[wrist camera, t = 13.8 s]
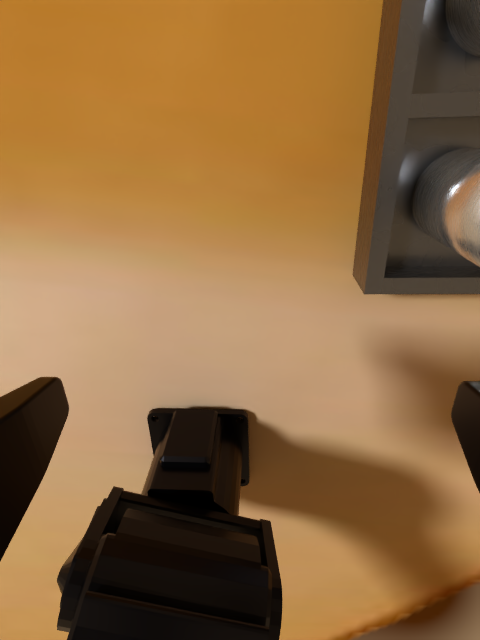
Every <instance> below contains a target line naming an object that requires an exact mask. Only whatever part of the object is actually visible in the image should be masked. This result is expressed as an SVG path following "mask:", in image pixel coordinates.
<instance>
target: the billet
mask: <svg viewBox="0 0 480 640" xmlns="http://www.w3.org/2000/svg"><path fill="white" fill-rule="evenodd" d="M412 213H413V216H414V219H415V221H416V223H417V225H418V226H419V228H420V229H421V230H422V231H423V232H424V233H426V234H427V235H429V236H430V237H432V238H434V239H435V240H437V241H438V242H440V243H442V244H443V245H445V246H447V247H448V248H450V249H451V250H453V251H455V252H456V253H458V254H459V255H461V256H463V257H464V258H466V259H467V260H469V261H471V262H472V263H474V264H476V265H477V266H479V267H480V148H461V149H457V150H453V151H451V152H448V153H446V154H444V155H442V156H441V157H439V158H438V159H436V160H435V161H434V162H432V163H431V164H430V165H429V166H428V167H427V168H426V169H425V171H424V172H423V173H422V175H421V176H420V178H419V179H418V182H417V184H416V186H415V189H414V191H413V196H412Z"/></svg>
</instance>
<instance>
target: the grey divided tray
mask: <svg viewBox="0 0 480 640" xmlns="http://www.w3.org/2000/svg"><path fill="white" fill-rule="evenodd" d="M461 148H480V56H475V55H473V54H470V53H468V52H466V51H465V50H463V49H462V48H461V47H460V46H459V45H458V44H457V43H456V41H455V40H454V38H453V37H452V35H451V33H450V30H449V28H448V23H447V18H446V0H383V9H382V18H381V27H380V36H379V45H378V54H377V62H376V71H375V80H374V89H373V98H372V107H371V116H370V125H369V134H368V143H367V152H366V161H365V170H364V178H363V187H362V196H361V205H360V214H359V223H358V232H357V241H356V250H355V259H354V268H353V276H354V278H355V280H356V281H357V283H358V285H359V286H360V288H361V290H362V291H363V293H364V294H480V267H479V266H477V265H476V264H474V263H472V262H471V261H469V260H467V259H466V258H464V257H463V256H461V255H459V254H458V253H456V252H455V251H453V250H451V249H450V248H448V247H447V246H445V245H443V244H442V243H440V242H438V241H437V240H435V239H434V238H432V237H430V236H429V235H427V234H426V233H424V232H423V231H422V230H421V229H420V228H419V226H418V225H417V223H416V221H415V219H414V216H413V213H412V196H413V191H414V189H415V186H416V184H417V182H418V179H419V178H420V176H421V175H422V173H423V172H424V171H425V169H426V168H427V167H428V166H429V165H430V164H431V163H432V162H434V161H435V160H436V159H438V158H439V157H441V156H442V155H444V154H446V153H448V152H451V151H453V150H457V149H461Z"/></svg>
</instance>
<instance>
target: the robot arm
mask: <svg viewBox="0 0 480 640" xmlns="http://www.w3.org/2000/svg"><path fill="white" fill-rule="evenodd" d="M68 412H69V405H68V401H67V398H66V394H65V391H64V387H63V384H62V381H61V380H60V379H59V378H58V377H40V378H37V379H35V380H34V381H32V382H30V383H28V384H26V385H24V386H22V387H20V388H18V389H16V390H14V391H12V392H10V393H8V394H6V395H4V396H2V397H0V561H1V559H2V557H3V555H4V553H5V551H6V549H7V547H8V545H9V543H10V541H11V539H12V538H13V536H14V534H15V532H16V530H17V528H18V526H19V524H20V522H21V520H22V518H23V516H24V514H25V512H26V510H27V508H28V506H29V504H30V502H31V501H32V499H33V497H34V495H35V493H36V491H37V489H38V487H39V485H40V483H41V481H42V479H43V477H44V475H45V472H46V470H47V468H48V465H49V463H50V460H51V458H52V455H53V453H54V450H55V447H56V445H57V442H58V440H59V437H60V435H61V432H62V429H63V427H64V424H65V422H66V419H67V416H68ZM154 416H157V417H158V418H155V417H154ZM238 417H241V418H243V419H238ZM451 418H452V422H453V425H454V428H455V430H456V433H457V436H458V439H459V441H460V444H461V447H462V449H463V452H464V455H465V458H466V460H467V463H468V466H469V468H470V471H471V474H472V476H473V479H474V481H475V484H476V486H477V488H478V490H479V493H480V381H463V382H462V383H460V385H459V387H458V390H457V393H456V397H455V400H454V404H453V407H452V412H451ZM147 419H148V425H149V431H150V436H151V442H152V448H153V454H154V458H153V461H152V464H151V467H150V470H149V473H148V476H147V479H146V482H145V485H144V488H143V491H142V494H137V493H133V492H128V491H124V489H123V488H119V487H113V489H112V490H111V492H110V494H109V496H108V498H107V499H106V498H105V499H104V500H103V502H102V504H101V506H98V507H97V509H96V511H95V514H94V516H93V518H92V521H91V523H90V525H89V527H88V529H87V531H86V533H85V535H84V537H83V538H82V540H81V541H80V543H79V544H78V545H77V547H76V548H75V549H74V551H73V552H72V554H71V555H70V556H69V558H68V559H67V560H66V562H65V563H64V564H63V566H62V568H61V570H60V572H59V575H58V578H57V583H58V585H59V588H60V591H61V593H62V597H61V602H60V613H59V617H58V623H57V630H60V631H65V632H69V635H68V638H67V640H279V636H280V629H281V619H282V586H281V578H280V573H279V567H278V561H277V556H276V550H275V544H274V539H273V533H272V527H271V522H270V521H268V520H263V519H260V521H259V520H255V519H250V518H246V517H241V516H238V515H239V499H240V486H246V485H247V484H248V483H249V438H248V414H247V413H246V412H245V411H242V410H202V409H152V410H151V411H150V412H149V414H148V418H147Z"/></svg>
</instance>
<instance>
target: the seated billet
mask: <svg viewBox="0 0 480 640" xmlns="http://www.w3.org/2000/svg"><path fill="white" fill-rule="evenodd" d="M446 18H447V23H448V28H449V30H450V33H451V35H452V37H453V38H454V40H455V41H456V43H457V44H458V45H459V46H460V47H461V48H462V49H463V50H465V51H466V52H468V53H470V54H473V55H475V56H480V0H446Z"/></svg>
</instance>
